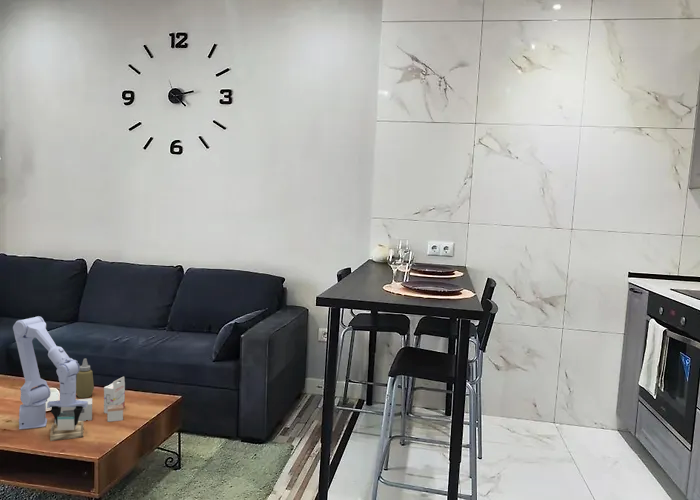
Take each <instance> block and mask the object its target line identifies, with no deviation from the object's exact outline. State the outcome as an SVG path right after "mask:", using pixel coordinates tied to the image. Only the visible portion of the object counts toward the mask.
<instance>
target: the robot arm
mask: <svg viewBox="0 0 700 500" xmlns="http://www.w3.org/2000/svg"><path fill="white" fill-rule="evenodd" d="M12 330H13V334H14V339H15V342H16V346H17V351H18V355H19V360H20V365H21V368H22V372H23V373H22V374H23V377H24V384H23V385H22V386H21V387H20V401H21V403H22V404H20V405H19V412H18V423H19V424H18V430H28V429H37V428H45V427H46V426H47V423H48V418H46V416H47V415H46V414H47V413H46V411H47V410H46V408H48V409H50V413H51V414H52V416H53V417H54V421H55V420H56V424H57V426H58V419H57V417H58V416H59V414H60V413H61V407H76V408H75V409H74V417H75V419H74V424H75V425H77V424H78V419H79V416H80V413H81V411H82V409H83V407H84V408H86V407H87V406H88V401H79V400H77V394H76V379H77V373H78V372H79V370H80V366H81V365H80V363H78V360H76V359H73V358H72V357H70V356H69V355H68V354H67V351H65V349H64V348H63V347H62V346H58V345H56V342H55V341H54V339H53V338H52V336H51V335H50V333H49V331H48V330H47V323H46V322H45V320H44V318H43V317H42V316H39V315H38V316H35V317H34V316H33V317H29V318H25V319H18V320H16V321H15V323H14V324H13V326H12ZM34 339H37V340H38V342H39V343H40V344H41V345H42V346H43V347H44V348H45V349H46V350H47V351H48V353H47V356H48V358H49V360H51V362H52V363H53V365H54V366H55V368H56V374H57V376H58V381H59V400H49V401H48V399H49V398H50V397H51V395H52V394H51V392H52V391H51V388H50V387H49V385H48V383H47V381H46V380H45V379H43V378H41V375H40V372H39V370H40V369H39V367H38V361H37V357H36V354H35V353H36V352H35V350H34V344H33V340H34Z"/></svg>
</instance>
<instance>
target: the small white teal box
mask: <svg viewBox="0 0 700 500" xmlns="http://www.w3.org/2000/svg"><path fill="white" fill-rule="evenodd" d="M57 419H58V427H57V430H74V429H75V428H76V426H77V425H75V424H74V419H75V417H74V413H60V414H59V416H58V417H57Z"/></svg>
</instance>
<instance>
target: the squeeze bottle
mask: <svg viewBox="0 0 700 500" xmlns="http://www.w3.org/2000/svg"><path fill="white" fill-rule="evenodd" d="M79 366H80V370H79V372H78V373H77V374H76V398H78V399H79V398H80V399H88V398H89V397H90V398H91V397H92V395H93V392H94V390H95V385H94V374H93V370H92V369H91V365H90V364H89V363H88V359H87V358H83V360H82V364H81V365H79Z"/></svg>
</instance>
